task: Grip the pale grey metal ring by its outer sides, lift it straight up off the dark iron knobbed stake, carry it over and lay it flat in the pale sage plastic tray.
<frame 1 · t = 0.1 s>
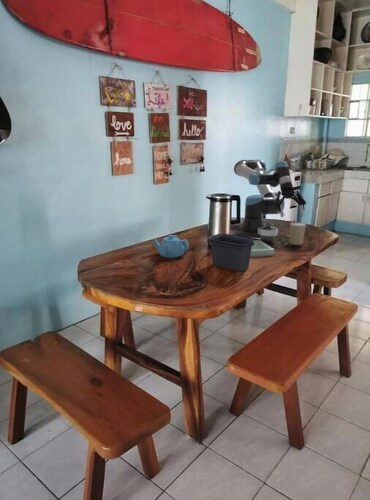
hand: (292, 215, 224), 15 cm above the table, tool tilted 35°, fingers open, 13 cm apart
storage bin: (230, 266, 182), on the table
coffee cup: (295, 243, 222), on the table
stake stand: (266, 241, 224), on the table
teapot: (170, 255, 198), on the table
ring: (267, 233, 223), point 5 cm above the table, touching stake stand
tray: (250, 251, 206), on the table
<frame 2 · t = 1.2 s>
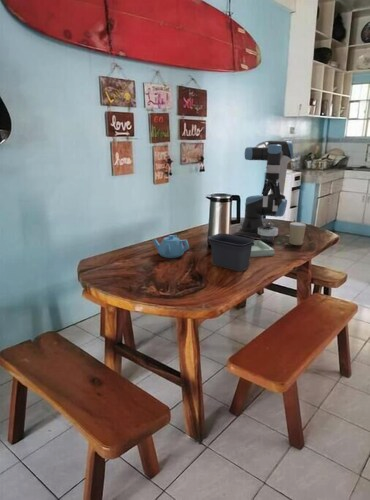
hand: (269, 209, 218), 20 cm above the table, tool pointing down, fingers open, 13 cm apart
nothing on the table moved.
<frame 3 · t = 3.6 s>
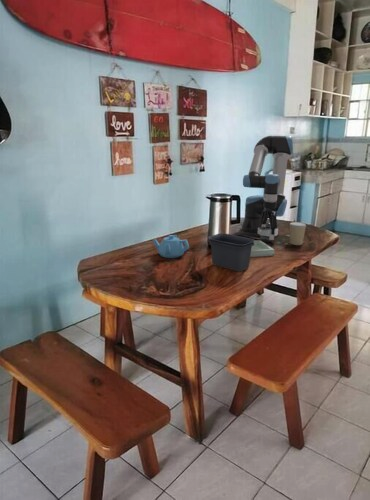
hand: (267, 237, 224), 3 cm above the table, tool pointing down, fingers closed on ring, 11 cm apart
ring: (267, 233, 223), point 5 cm above the table, touching gripper, stake stand
everything else where it was.
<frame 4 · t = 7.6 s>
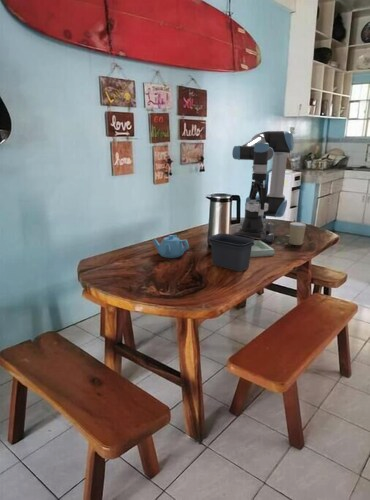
hand: (256, 213, 203), 21 cm above the table, tool pointing down, fingers closed on ring, 11 cm apart
ring: (256, 209, 202), point 23 cm above the table, touching gripper
everything else where it was.
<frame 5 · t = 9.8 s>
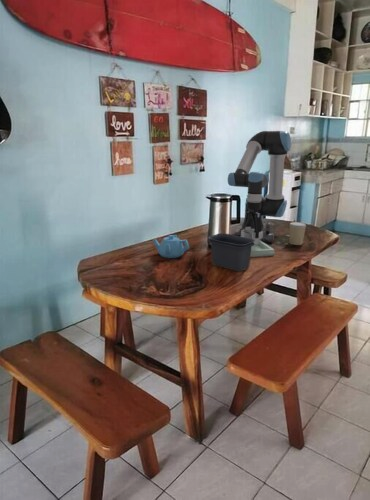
hand: (251, 240, 204), 6 cm above the table, tool pointing down, fingers closed on ring, 11 cm apart
ring: (251, 237, 204), point 8 cm above the table, touching gripper
everything else where it was.
when the fingers open (2 cm above the table, at t = 11.5 s): ring drops 4 cm, resting on tray.
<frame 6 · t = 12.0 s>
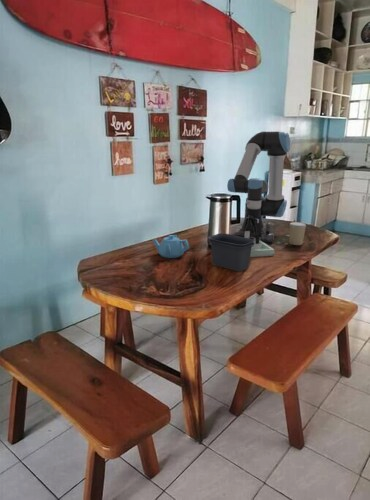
hand: (251, 245, 205), 3 cm above the table, tool pointing down, fingers open, 13 cm apart
ring: (250, 249, 206), point 1 cm above the table, touching tray
everything else where it was.
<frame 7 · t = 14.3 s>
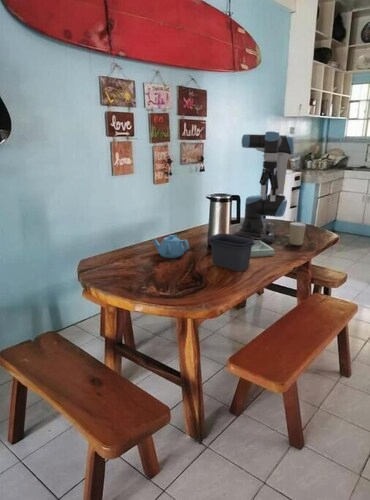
hand: (267, 198, 211), 27 cm above the table, tool pointing down, fingers open, 13 cm apart
nothing on the table moved.
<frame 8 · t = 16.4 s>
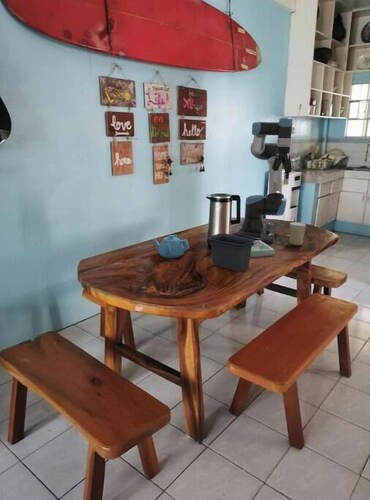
hand: (280, 183, 220), 35 cm above the table, tool pointing down, fingers open, 13 cm apart
nothing on the table moved.
at the end: ring inside the target area on the tray (0.0 cm from its centre), point 0.8 cm above the tray's base; ring tilted 0°; the gripper is holding nothing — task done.
